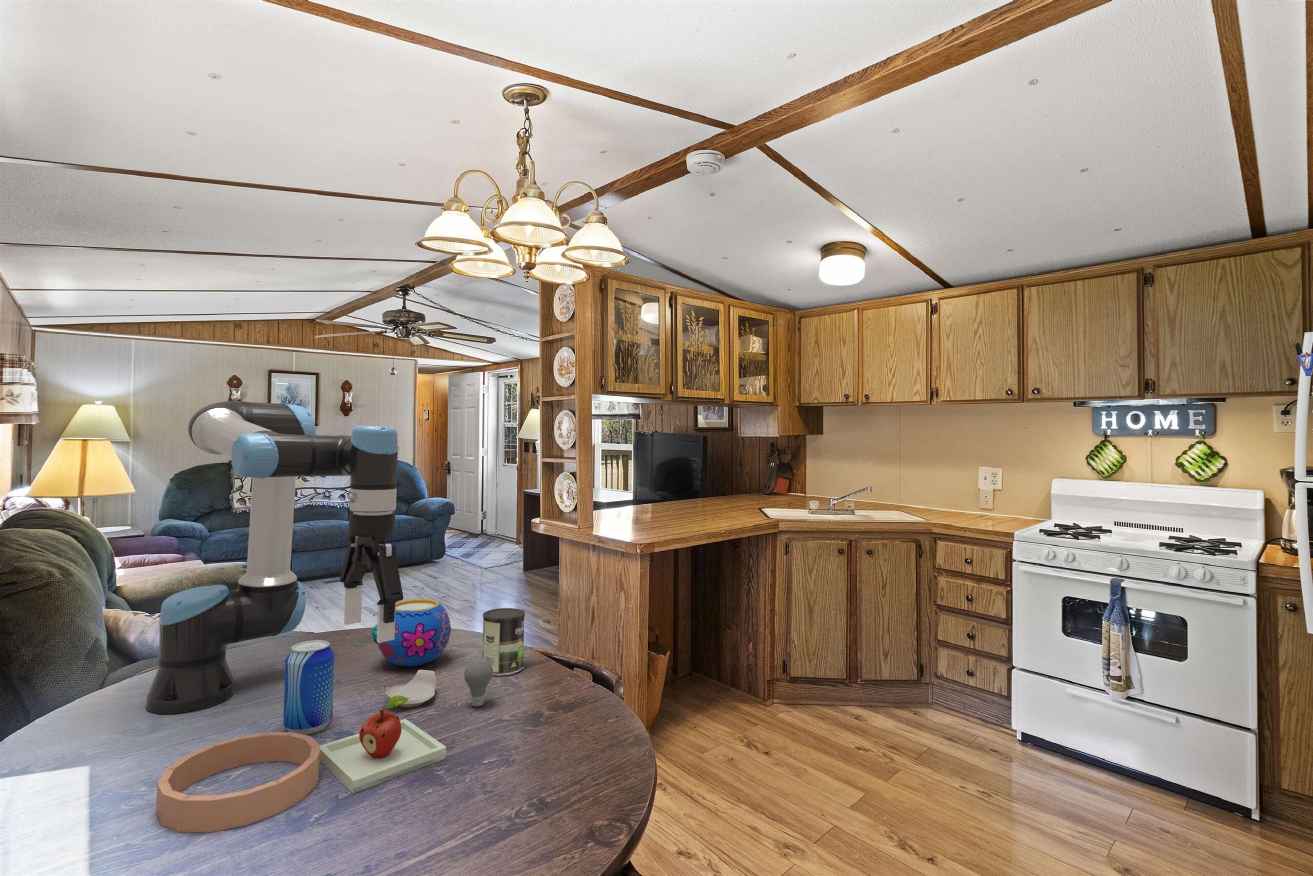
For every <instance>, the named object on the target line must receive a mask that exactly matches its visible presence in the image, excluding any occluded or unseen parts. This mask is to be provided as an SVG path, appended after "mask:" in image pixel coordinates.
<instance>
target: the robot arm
mask: <svg viewBox="0 0 1313 876" xmlns="http://www.w3.org/2000/svg"><path fill="white" fill-rule="evenodd" d="M315 424H316V423H315V421H314V418H313V417H312V414H311V413H310V412H309V410H308V409H307V408H305V407H304V406H301V405H295V404H289V403H277V402H273V403H272V402H253V401H240V400H226V401H224V400H223V401H219V402H215V403H212V404H208V405H206V406H204V407H202V408H200V409H199V410H198V411H196V412H195V413H194V414H193V415H192V416H191V418H190V420H189V422H188V427H187V431H188V432H187V433H188V437H189V439H190V440H191V442H192V443H193V445H195V446H196V447H197V448H198V449H200V450H202V451H203V452H206V453H209V454H212V455H223V456H225V457H227V458H229V459H231V465H232V467H233V471H234V474H236V475H237V476H238V477H240V478H251V479H252V480H251V496H250V512H249V514H250V515H249V530H248V542H247V543H248V546H247V560H246V561H247V562H246V572H245V573H244V574H243V575H242V576H241V577H240V578H239V579H238V580H237V589H233V590H232V589H231V590H229V588H228V586H226V585H225V584H212V585H203V586H198V587H192V588H189V589H184V590H182V591H179V592H176V593H174V594H171V595H170V596H168V597H166V598H165V600H163V602H162V604H161V607H160V613H159V614H160V615H159V619H158V624H159V643H158V644H159V645H158V668H157V671H156V674H155V676H154V678H153V681H152V683H151V685H150V688H149V690H148V693H147V695H146V705H145V708H146V710H147V711H148V712H151V713H154V714H167V715H169V714H181V713H187V712H193V711H198V710H202V709H206V708H210V707H212V706H216V705H218V704H220V703H222V702H224V701H226V700H227V701H228V699H230V698H231V697H232V696H233V695H234V693H235V679H234V677H233V674H232V672H231V668H230V666H229V663H228V661H227V659H226V657H227V655H226V653H227V646H228V645H231V644H236V643H242V642H247V641H251V640H256V639H263V638H269V637H276V636H278V635H283V634H285V633H289V632H292V631H294V630H295V629H296V628H297V627H298V626H300V624H301V622H302V619H303V617H304V614H305V610H306V604H307V595H306V589H305V586H304V585H303V583H302V582H301V581H298V576H297V575H296V573H294V572H293V571H292V570H291V564H292V563H291V560H292V545H293V532H294V530H293V529H294V516H295V515H294V514H295V513H294V512H295V500H296V499H295V497H296V481H297V477H305V478H306V477H350V484H349V488H350V492H349V493H350V494H348V495H347V499H348V500H349V511H350V512H353V513H350V515H349V516H348V535H349V536H348V544H347V549H346V554H345V557H344V561H343V566H342V568H341V569H342V570H341V573H340V576H339V582H340V583H343V588H345V594H344V595H345V597H344V619H343V625H345V626H348V625H354V624H359V623H361V622H362V605H363V604H362V603H363V601H362V600H363V599H362V597H363V587H362V586H364V582H363V578H364V577H365V575H366V572H367V570H369V571H371V572H372V575H373V579H374V582H375V587H376V590H377V592H378V595H379V596H378V597H379V600H378V601H377V603H376V605H377V620H376V621H377V623H376V624H377V642H378V643H381V642H385V641H390V640H394V637H395V608H396V603H398V602H402V601H404V600H403V599H404V592H403V586H402V583H401V582H402V581H401V576H400V570H399V565H398V560H397V545H396V543H394V542H392V543H387V537H388V536H391V535H393V534H394V533H395V531H396V515H395V513H394V511H395V510H396V509H397V489H398V488H397V479H398V478H397V477H398V476H397V475H398V458H399V450H400V449H399V444H398V431H397V429H396V428H395V427H392V426H380V425H379V426H376V425H357V426H354V427H353V429H352V433H351V435H348V434H346V435H345V434H344V435H341V434H340V435H339V434H337V435H329V434H328V435H327V434H326V435H323V434H321V435H318V434H317V431H316V425H315Z"/></svg>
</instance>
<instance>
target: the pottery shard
mask: <svg viewBox="0 0 1313 876" xmlns="http://www.w3.org/2000/svg"><path fill="white" fill-rule="evenodd" d="M436 686H437V679H436V672H435V671H433V670H425V669H419V670H417V672H416V674H415V675H414V677H413V678H412V679H411V680H410V681H409V682H408V683H406V684H404V685H394V686H393V687H391V686H387V687H386V688H385V687H384V686H382V687H381V689H382V690H383V692H384V695H385V696H386V697H387V699H388V700H390V699H391V698H392V697H394V696H396V697H397V696H398V695H399V696H403V697H406V698H409V699H408V700H407V702H406V703H403V704H401V705H399V707H402V708H414V707H418V706H421V705H422V704H423V703H424V702H427V701H428V702H429V700H430V699H432V698H433V697H435V693H436V692H435V690H436Z"/></svg>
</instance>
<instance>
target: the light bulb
mask: <svg viewBox="0 0 1313 876" xmlns="http://www.w3.org/2000/svg"><path fill="white" fill-rule="evenodd" d="M463 674H464V675H463V676H464V680H465V682H466V684H467V686H468V688H469V692H470V695H471V706H474V707H476V706H478V707H481V706H482V705H484V704H485V694H486V693H487V688H488V685H489V683H490V682H491V680H492V679H493V677H494V676H493V668H492V665H491V664H490V662H489V661H487V660H486V659H483V658H482V657H480V658H474V659H472V660H471V661H470V662H469V663H468V664H467V665H466V667H465V668H464V672H463Z"/></svg>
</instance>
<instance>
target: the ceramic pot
mask: <svg viewBox="0 0 1313 876" xmlns="http://www.w3.org/2000/svg"><path fill="white" fill-rule="evenodd" d="M450 621H451V620H450V617H449V614H448V612H447V610H446V609H445V607H444V606H443V605H442V604H441V603H440V602H439V601H436V600H434V599H433V600H432V599H422V598H421V599H407V600H401V601H398V602H396V608H395V637H394V640H390V641H385V642H381V643H378V642H377V623H376V624H375V625H374V626H373V628H372V630H371V638H372V640H373V642H374V643H376V645H378V649H379V651H380V653H381V654H382V656H383V658H384V659H385V660H386V661H388V662H389V663H391V664H393V665H396V666H399V667H409V668H411V667H418V666H422V665H425V664H429V663H430V662H432V661H434V660H435V659H437V658H438V657H440V656H441V654H443V652H444V651H445V649H446V647H447V645H448V643H449V640H450V638H451V637H450V636H451V631H452V627H451V622H450Z"/></svg>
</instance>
